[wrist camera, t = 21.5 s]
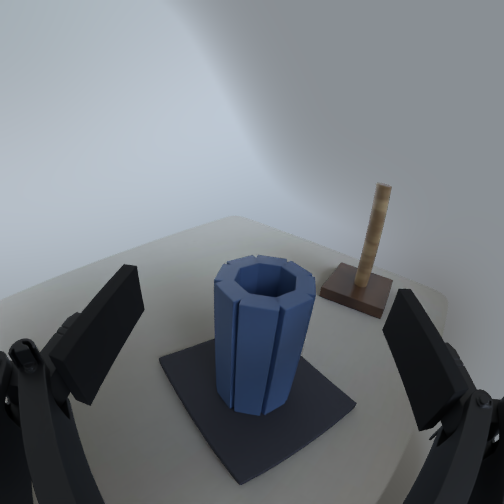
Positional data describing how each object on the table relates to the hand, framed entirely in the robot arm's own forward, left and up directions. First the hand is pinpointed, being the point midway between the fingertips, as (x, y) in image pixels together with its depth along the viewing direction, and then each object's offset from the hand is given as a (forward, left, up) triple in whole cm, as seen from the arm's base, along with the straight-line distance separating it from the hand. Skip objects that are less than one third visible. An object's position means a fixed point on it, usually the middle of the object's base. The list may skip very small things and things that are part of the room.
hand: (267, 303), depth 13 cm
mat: (+3, -2, -13) cm, 13 cm away
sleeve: (+3, -2, -12) cm, 12 cm away
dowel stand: (+8, -24, -13) cm, 28 cm away
